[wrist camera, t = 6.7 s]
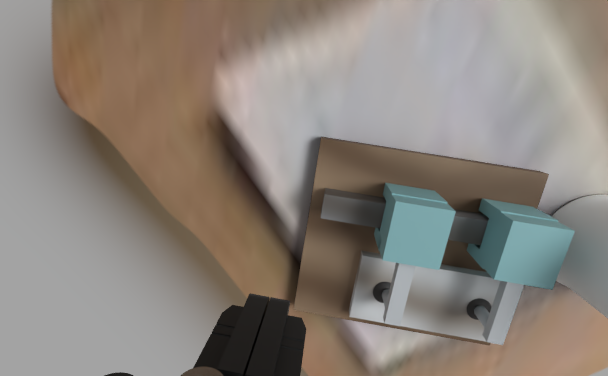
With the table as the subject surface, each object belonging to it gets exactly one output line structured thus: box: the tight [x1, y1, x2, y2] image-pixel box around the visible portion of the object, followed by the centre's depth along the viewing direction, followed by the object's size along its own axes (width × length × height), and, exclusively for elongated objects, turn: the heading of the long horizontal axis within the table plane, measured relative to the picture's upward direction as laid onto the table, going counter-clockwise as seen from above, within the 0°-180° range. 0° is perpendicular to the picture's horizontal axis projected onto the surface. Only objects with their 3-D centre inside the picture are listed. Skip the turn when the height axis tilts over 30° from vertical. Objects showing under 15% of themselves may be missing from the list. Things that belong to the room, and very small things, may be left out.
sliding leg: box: [374, 183, 456, 326], centre depth 26 cm, size 10×4×5 cm, turn 172°
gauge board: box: [294, 137, 549, 345], centre depth 28 cm, size 16×18×3 cm
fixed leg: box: [466, 198, 575, 345], centre depth 26 cm, size 10×4×5 cm, turn 172°
